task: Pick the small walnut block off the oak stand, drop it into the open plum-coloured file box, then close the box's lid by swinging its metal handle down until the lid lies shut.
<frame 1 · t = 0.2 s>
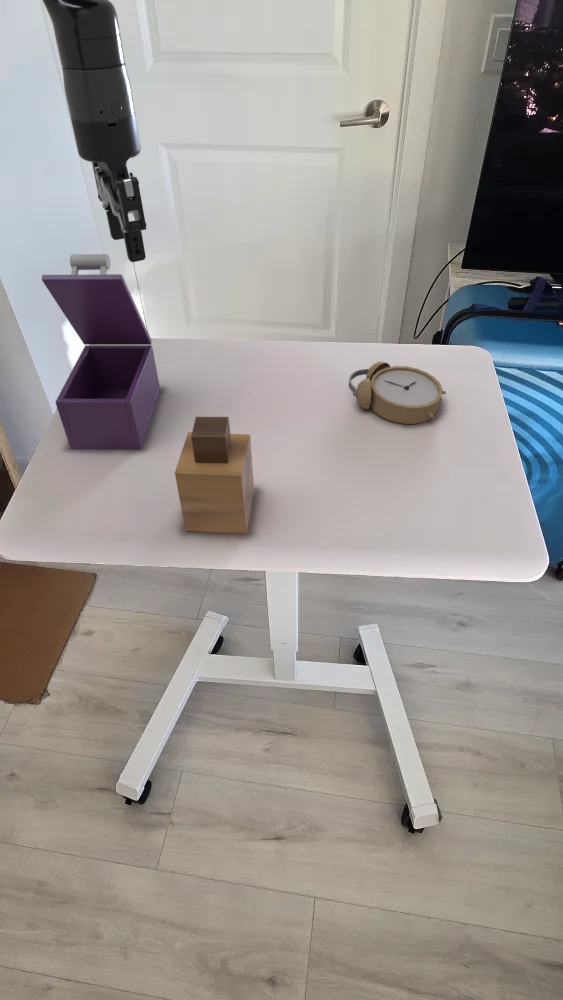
hand: (128, 249, 85), 25 cm above the table, tool pointing down, fingers open, 8 cm apart
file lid: (102, 298, 92), point 17 cm above the table, hinge at 60.0°
alarm clock: (392, 402, 101), on the table
file box: (117, 417, 99), on the table
stand: (220, 511, 83), on the table
block: (213, 452, 76), point 10 cm above the table, touching stand
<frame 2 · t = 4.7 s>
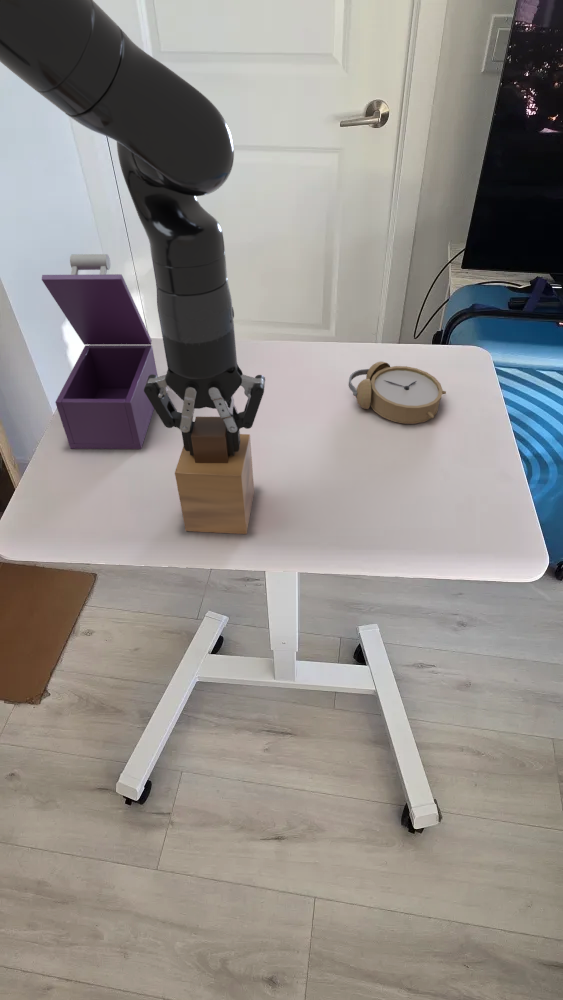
hand: (213, 451, 76), 10 cm above the table, tool pointing down, fingers closed on block, 4 cm apart
block: (213, 452, 76), point 10 cm above the table, touching gripper, stand
everything else where it was.
when the fingers open (21 cm above the table, at t = 11.4 s): block drops 20 cm, resting on file box.
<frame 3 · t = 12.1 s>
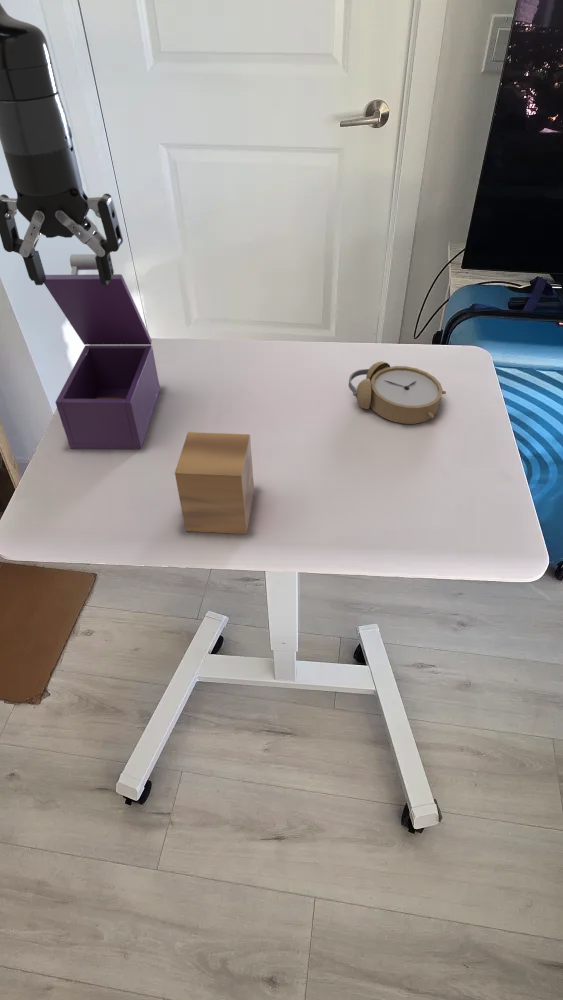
hand: (73, 282, 80), 24 cm above the table, tool pointing down, fingers open, 8 cm apart
block: (112, 426, 96), point 1 cm above the table, touching file box
everything else where it was.
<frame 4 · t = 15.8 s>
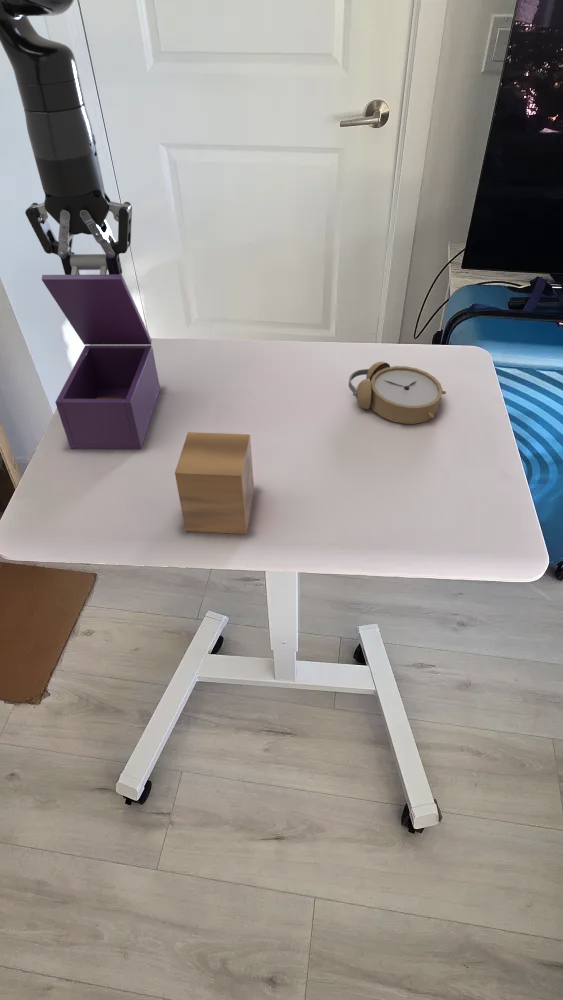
hand: (95, 280, 89), 20 cm above the table, tool pointing down, fingers closed on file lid, 5 cm apart
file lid: (102, 298, 92), point 17 cm above the table, hinge at 60.0°, touching gripper
everything else where it was.
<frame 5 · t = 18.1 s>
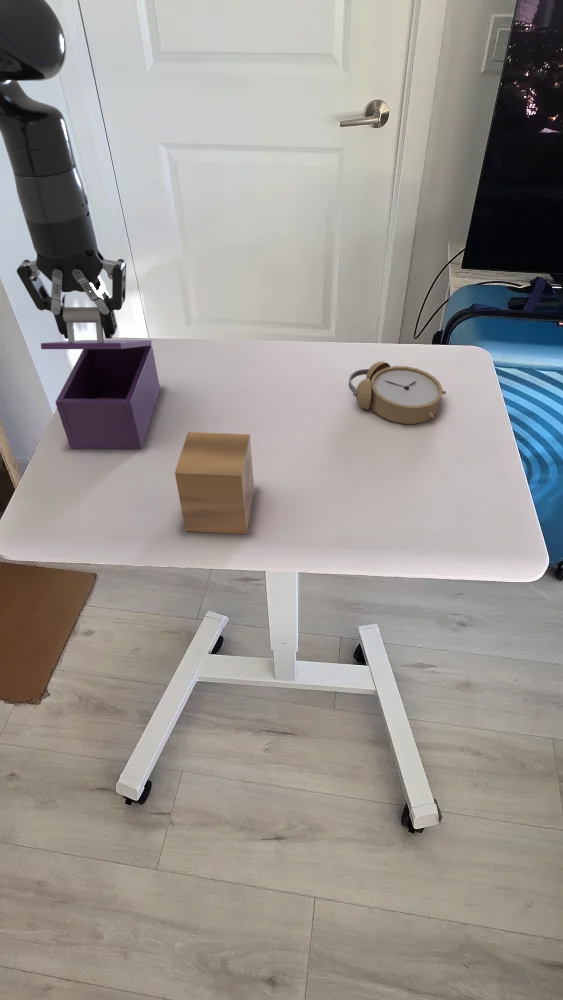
hand: (90, 335, 86), 16 cm above the table, tool pointing down, fingers closed on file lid, 5 cm apart
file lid: (99, 327, 90), point 15 cm above the table, hinge at 27.7°, touching gripper
everything else where it was.
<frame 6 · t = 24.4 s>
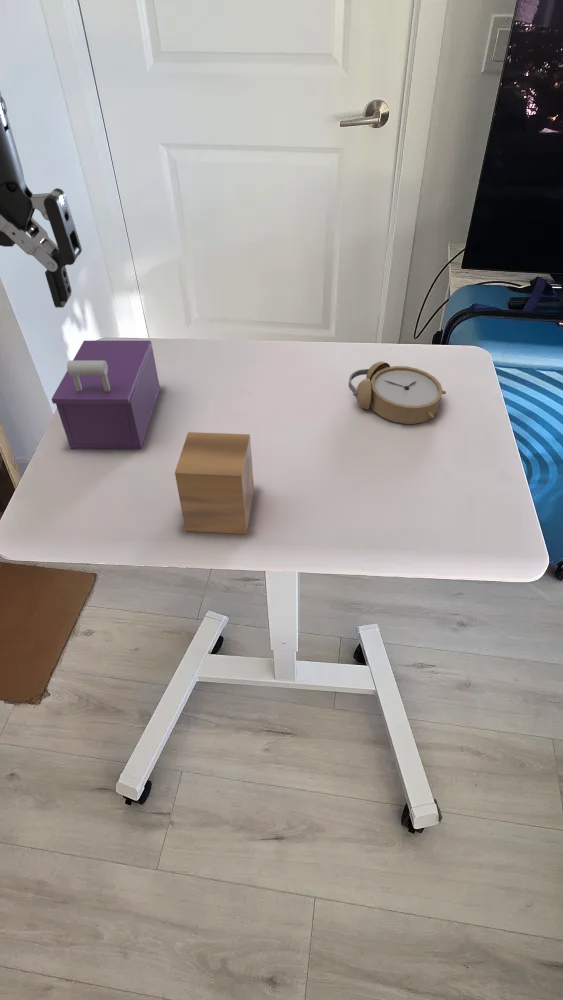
hand: (20, 304, 62), 30 cm above the table, tool pointing down, fingers open, 8 cm apart
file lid: (101, 356, 91), point 11 cm above the table, hinge at 0.7°
everything else where it was.
at the end: block inside the target area in the file box (1.2 cm from its centre), point 0.9 cm above the file box's base; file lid at +1° (first picture: +60°) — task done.
